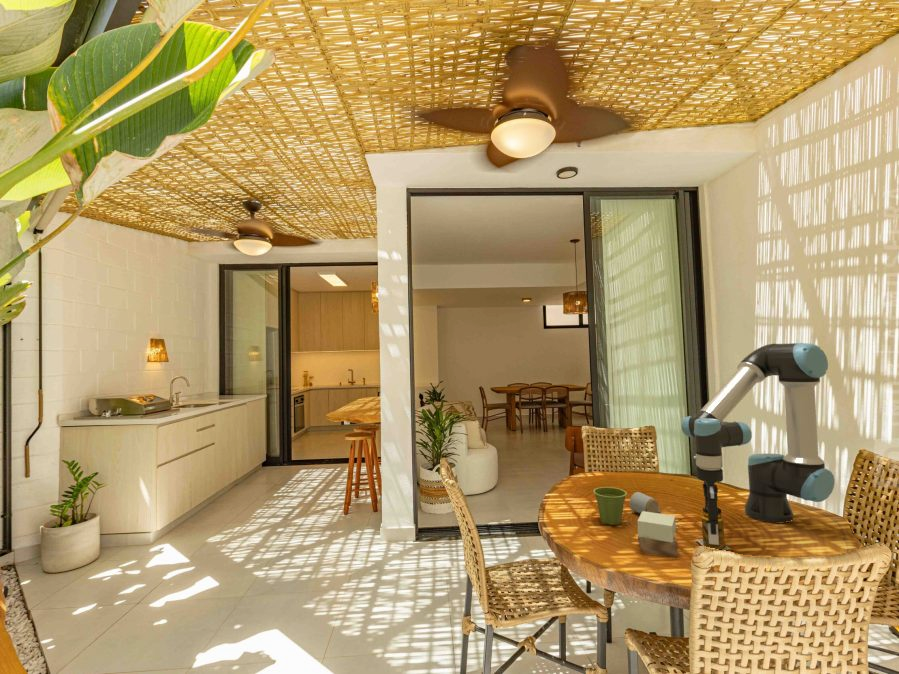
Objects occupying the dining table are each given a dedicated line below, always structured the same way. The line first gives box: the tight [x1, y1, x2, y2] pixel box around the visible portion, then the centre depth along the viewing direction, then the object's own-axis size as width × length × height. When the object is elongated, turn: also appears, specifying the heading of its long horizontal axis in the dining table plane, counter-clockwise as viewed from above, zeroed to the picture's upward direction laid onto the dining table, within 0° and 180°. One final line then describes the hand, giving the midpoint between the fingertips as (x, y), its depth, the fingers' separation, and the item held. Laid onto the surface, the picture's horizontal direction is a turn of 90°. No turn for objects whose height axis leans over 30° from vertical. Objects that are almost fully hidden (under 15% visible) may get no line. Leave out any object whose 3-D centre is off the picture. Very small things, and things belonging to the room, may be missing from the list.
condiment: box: [694, 506, 732, 551], centre depth 152 cm, size 7×8×12 cm
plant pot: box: [592, 486, 628, 526], centre depth 175 cm, size 12×12×11 cm
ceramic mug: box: [629, 491, 661, 515], centre depth 183 cm, size 11×8×8 cm
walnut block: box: [637, 536, 679, 558], centre depth 151 cm, size 10×10×5 cm
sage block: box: [637, 511, 677, 543], centre depth 152 cm, size 10×10×5 cm
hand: (712, 539), depth 151 cm, fingers closed on condiment, 6 cm apart
